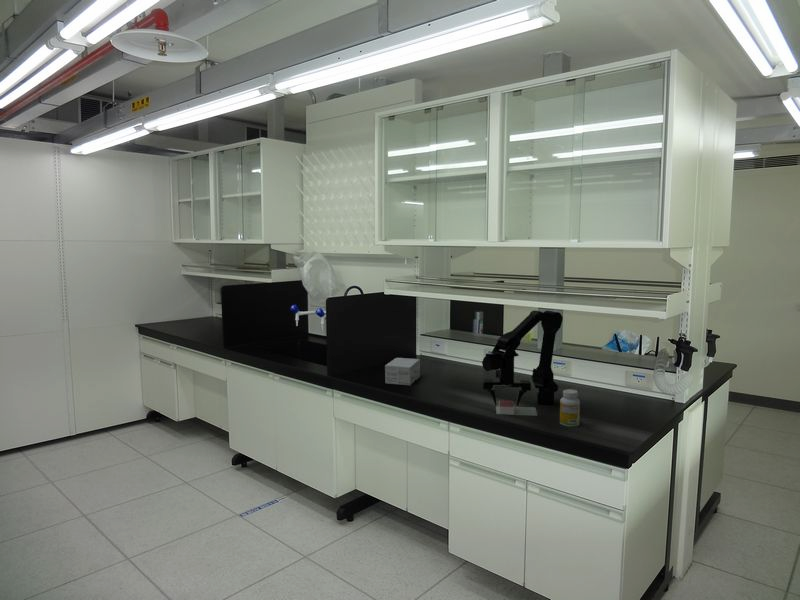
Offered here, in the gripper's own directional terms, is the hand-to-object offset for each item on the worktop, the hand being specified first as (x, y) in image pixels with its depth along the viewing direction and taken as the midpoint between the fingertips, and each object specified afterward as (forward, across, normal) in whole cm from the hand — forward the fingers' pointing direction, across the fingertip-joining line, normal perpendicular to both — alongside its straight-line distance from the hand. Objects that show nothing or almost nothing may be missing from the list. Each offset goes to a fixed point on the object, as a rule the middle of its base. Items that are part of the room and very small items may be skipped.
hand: (506, 405), depth 214 cm
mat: (+3, -4, -1) cm, 5 cm away
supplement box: (+3, +49, -44) cm, 66 cm away
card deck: (+2, 0, 0) cm, 2 cm away
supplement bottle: (+3, -23, +11) cm, 26 cm away
